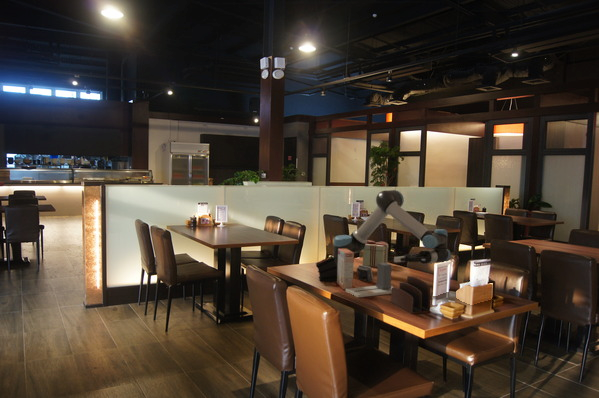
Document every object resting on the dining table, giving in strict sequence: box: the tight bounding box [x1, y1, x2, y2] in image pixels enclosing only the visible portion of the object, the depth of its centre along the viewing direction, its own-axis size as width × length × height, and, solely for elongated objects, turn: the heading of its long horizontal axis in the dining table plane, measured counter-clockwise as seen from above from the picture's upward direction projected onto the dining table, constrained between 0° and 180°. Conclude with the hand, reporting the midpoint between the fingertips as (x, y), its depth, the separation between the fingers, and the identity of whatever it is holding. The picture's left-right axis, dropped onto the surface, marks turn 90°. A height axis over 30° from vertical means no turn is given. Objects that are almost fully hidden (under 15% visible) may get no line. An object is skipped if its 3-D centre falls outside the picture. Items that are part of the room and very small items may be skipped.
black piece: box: [315, 255, 337, 283], centre depth 259 cm, size 4×13×15 cm, turn 99°
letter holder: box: [390, 275, 431, 315], centre depth 212 cm, size 10×20×14 cm, turn 18°
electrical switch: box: [356, 264, 374, 283], centre depth 262 cm, size 9×5×9 cm, turn 44°
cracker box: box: [336, 249, 355, 291], centre depth 247 cm, size 14×6×21 cm, turn 9°
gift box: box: [362, 239, 389, 268], centre depth 310 cm, size 17×18×17 cm
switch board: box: [345, 285, 393, 298], centre depth 237 cm, size 28×12×2 cm, turn 116°
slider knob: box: [375, 262, 392, 289], centre depth 240 cm, size 6×6×13 cm
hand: (394, 259), depth 242 cm, fingers closed
